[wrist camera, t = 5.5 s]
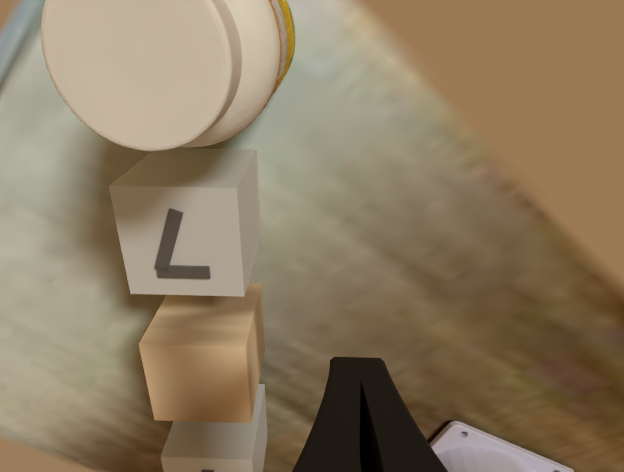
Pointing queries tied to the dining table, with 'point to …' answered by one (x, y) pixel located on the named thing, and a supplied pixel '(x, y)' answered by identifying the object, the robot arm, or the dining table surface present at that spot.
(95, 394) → the dining table surface
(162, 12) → the supplement bottle
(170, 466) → the marked block 1
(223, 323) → the plain block
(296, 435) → the dining table surface
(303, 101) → the dining table surface
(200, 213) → the marked block 7
